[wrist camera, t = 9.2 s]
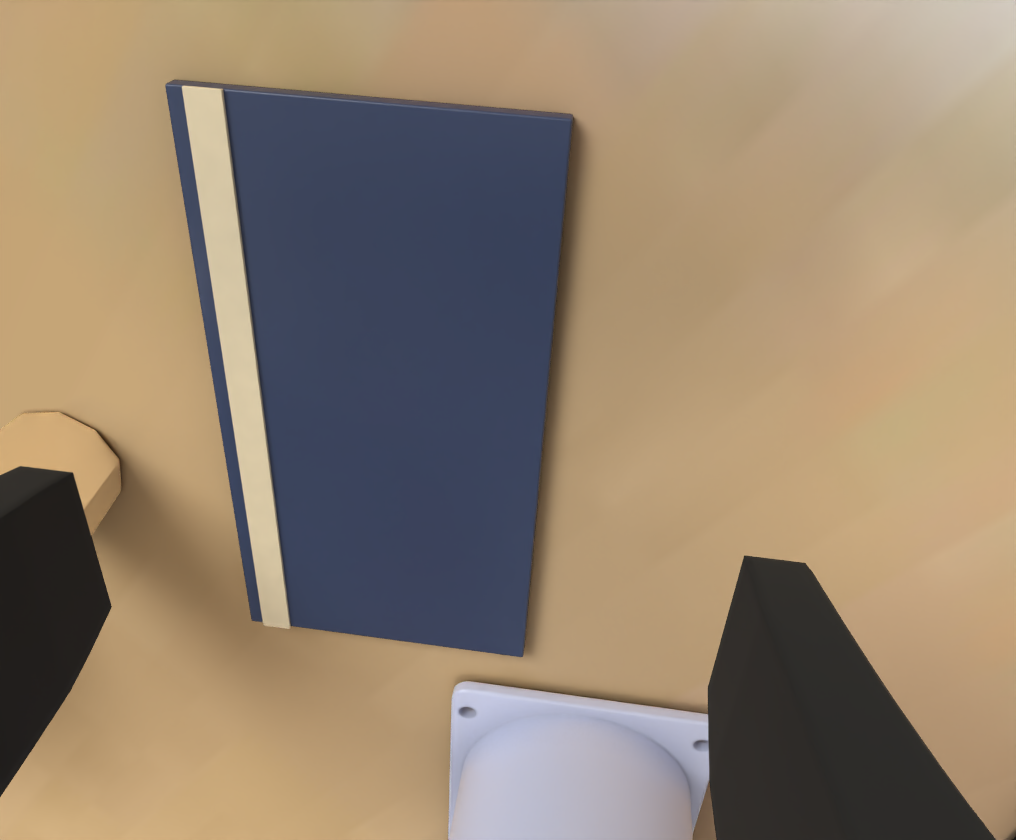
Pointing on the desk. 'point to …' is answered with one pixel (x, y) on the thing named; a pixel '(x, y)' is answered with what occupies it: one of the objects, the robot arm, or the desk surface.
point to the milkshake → (64, 457)
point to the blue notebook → (378, 349)
